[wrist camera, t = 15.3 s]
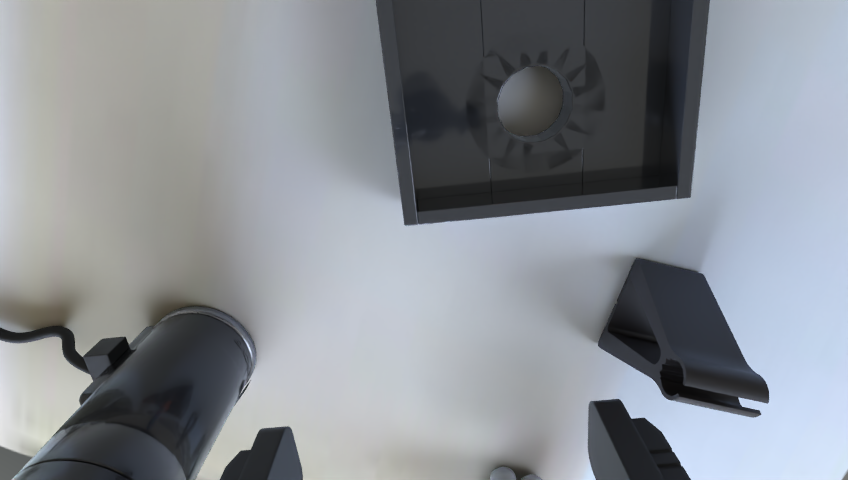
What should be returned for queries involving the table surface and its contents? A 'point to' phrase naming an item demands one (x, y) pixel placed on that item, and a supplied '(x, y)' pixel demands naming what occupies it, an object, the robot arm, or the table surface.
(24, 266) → the table surface
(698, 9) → the dark grey tray
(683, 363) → the phone stand
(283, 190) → the table surface
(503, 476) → the toy rhinoceros
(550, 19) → the sink
